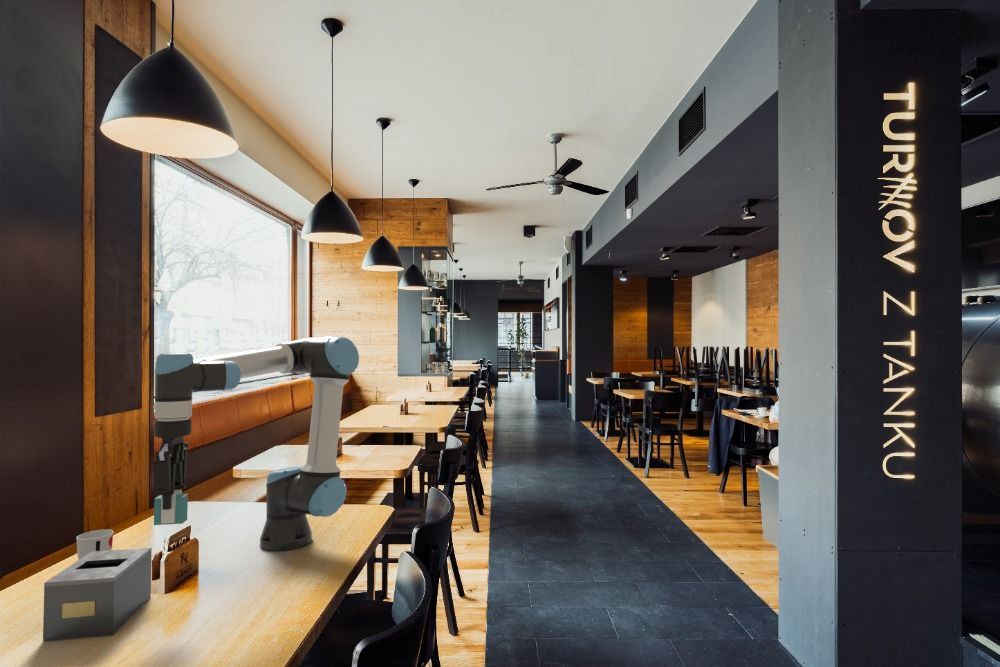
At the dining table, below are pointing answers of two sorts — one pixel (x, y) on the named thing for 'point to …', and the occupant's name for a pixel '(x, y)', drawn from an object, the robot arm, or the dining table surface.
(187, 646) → the dining table surface
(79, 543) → the cup
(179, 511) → the teal rectangular block
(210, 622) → the dining table surface
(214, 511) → the dining table surface
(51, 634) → the tip box
